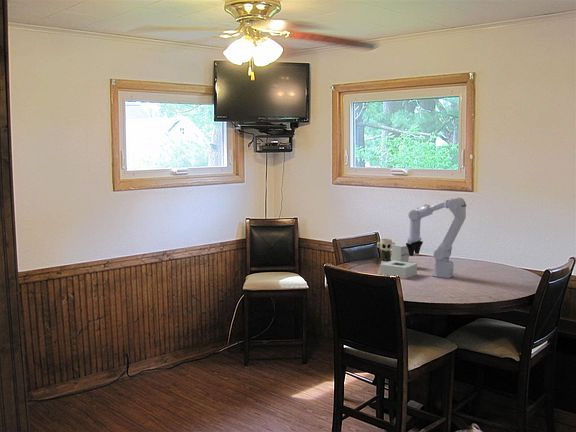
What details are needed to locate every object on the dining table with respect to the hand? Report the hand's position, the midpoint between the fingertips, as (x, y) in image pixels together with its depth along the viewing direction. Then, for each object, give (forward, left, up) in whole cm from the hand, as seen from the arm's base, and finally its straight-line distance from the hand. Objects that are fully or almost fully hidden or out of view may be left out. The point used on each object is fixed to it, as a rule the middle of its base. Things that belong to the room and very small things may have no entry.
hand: (414, 254), depth 351 cm
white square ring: (+3, +13, -10) cm, 16 cm away
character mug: (+28, -20, -10) cm, 36 cm away
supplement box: (+13, -9, -10) cm, 19 cm away
